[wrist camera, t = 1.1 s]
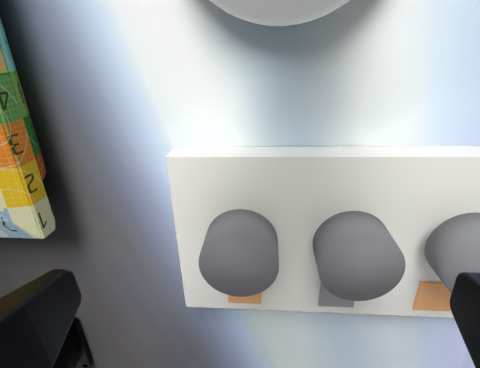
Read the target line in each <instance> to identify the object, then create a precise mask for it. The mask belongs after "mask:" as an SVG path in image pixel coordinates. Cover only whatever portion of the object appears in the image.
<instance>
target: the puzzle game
mask: <svg viewBox="0 0 480 368" xmlns="http://www.w3.org/2000/svg"><path fill="white" fill-rule="evenodd" d="M45 175H46V168H45V163H44V159H43V156H42V153H41V149H40V146H39V143H38V140H37V136H36V133H35V130H34V126H33V123H32V120H31V117H30V113H29V110H28V107H27V103H26V100H25V97H24V94H23V90H22V87H21V84H20V80H19V77H18V74H17V71H16V67H15V64H14V61H13V57H12V54H11V51H10V47H9V44H8V41H7V38H6V34H5V31H4V28H3V24H2V21H1V18H0V238H26V239H46V238H47V237H48V236H49V235H51V234H52V233H53V232H54V231H55V217H54V214H53V211H52V208H51V205H50V203H49V200H48V197H47V194H46V191H45V188H44V185H43V182H42V181H43V179H44V177H45Z"/></svg>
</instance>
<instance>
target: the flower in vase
mask: <svg viewBox="0 0 480 368" xmlns="http://www.w3.org/2000/svg"><path fill="white" fill-rule="evenodd" d="M210 1H211V2H212V3H213V4H215V5H216V6H217V7H219V8H221V9H222V10H224V11H225V12H227V13H228V14H230V15H233V16H235V17H237V18H239V19H242V20H244V21H248V22H251V23H255V24H260V25H267V26H290V25H296V24H302V23H305V22H309V21H312V20H315V19H318V18H320V17H322V16H325V15H327V14H329V13H331V12H333V11H335V10H336V9H338V8H340V7H341V6H343V5H344V4H346V3H348V2H349V1H350V0H210Z"/></svg>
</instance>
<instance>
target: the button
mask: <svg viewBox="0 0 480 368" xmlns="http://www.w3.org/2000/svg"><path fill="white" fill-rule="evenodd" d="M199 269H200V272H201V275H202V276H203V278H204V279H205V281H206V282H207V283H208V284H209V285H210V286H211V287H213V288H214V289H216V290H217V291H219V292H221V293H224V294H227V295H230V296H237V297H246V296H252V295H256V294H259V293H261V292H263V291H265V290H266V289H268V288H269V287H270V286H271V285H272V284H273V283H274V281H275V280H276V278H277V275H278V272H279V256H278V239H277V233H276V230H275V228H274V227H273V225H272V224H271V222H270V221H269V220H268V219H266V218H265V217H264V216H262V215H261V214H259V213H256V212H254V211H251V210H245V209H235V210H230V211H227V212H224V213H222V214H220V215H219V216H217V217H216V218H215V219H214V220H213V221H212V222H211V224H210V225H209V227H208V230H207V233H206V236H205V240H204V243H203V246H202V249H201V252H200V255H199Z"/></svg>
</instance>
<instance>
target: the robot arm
mask: <svg viewBox="0 0 480 368" xmlns="http://www.w3.org/2000/svg"><path fill="white" fill-rule="evenodd" d="M80 303H81V292H80V289H79V287H78V284H77V281H76V278H75V276H74V273H73V272H72V271H71V270H69V269H54V270H51V271H49V272H47V273H45V274H44V275H42V276H40V277H38V278H36V279H34V280H33V281H31V282H29V283H27V284H25V285H23V286H21V287H20V288H18V289H16V290H14V291H12V292H10V293H8V294H7V295H5V296H3V297H1V298H0V368H90V367H91V365H92V360H91V357H90V354H89V351H88V348H87V345H86V342H85V339H84V336H83V333H82V331H81V328H80V325H79V322H78V320H77V319H76V318H74V317H75V315H76V313H77V310H78V308H79V306H80ZM450 309H451V312H452V314H453V317H454V319H455V321H456V323H457V326H458V328H459V330H460V333H461V335H462V337H463V340H464V342H465V344H466V347H467V349H468V351H469V354H470V356H471V358H472V361H473V363H474V365H475V368H480V272H460V273H459V274H458V275H457V277H456V280H455V283H454V287H453V290H452V293H451V297H450Z"/></svg>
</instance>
